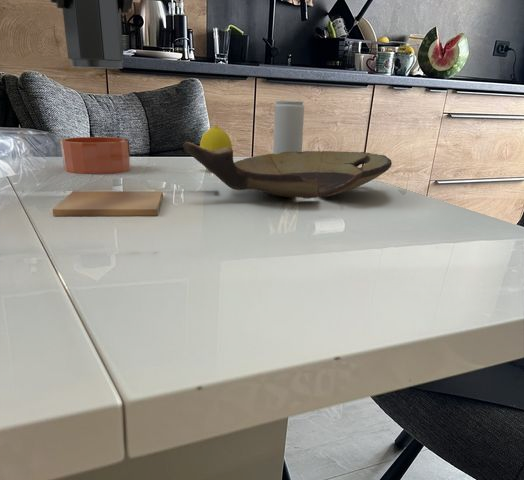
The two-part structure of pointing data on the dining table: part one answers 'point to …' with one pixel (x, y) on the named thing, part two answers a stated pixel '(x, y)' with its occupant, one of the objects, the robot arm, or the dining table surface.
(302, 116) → the beverage can
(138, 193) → the cork trivet
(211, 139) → the lemon
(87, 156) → the terracotta pot
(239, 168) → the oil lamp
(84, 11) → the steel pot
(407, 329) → the dining table surface
